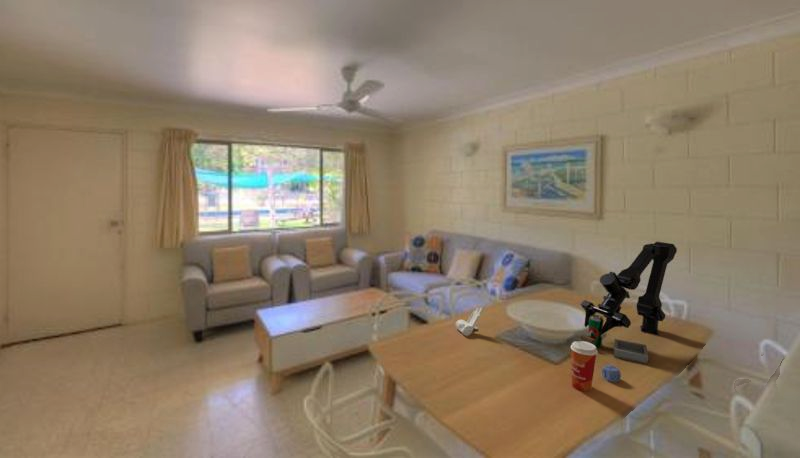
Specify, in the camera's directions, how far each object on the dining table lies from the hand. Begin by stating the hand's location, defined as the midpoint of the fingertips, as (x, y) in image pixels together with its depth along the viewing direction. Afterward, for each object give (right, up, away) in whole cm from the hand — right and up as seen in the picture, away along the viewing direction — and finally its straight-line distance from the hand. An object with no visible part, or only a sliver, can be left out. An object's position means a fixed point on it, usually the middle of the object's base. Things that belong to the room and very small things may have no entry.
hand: (593, 330), depth 142 cm
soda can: (+1, -7, +1) cm, 7 cm away
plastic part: (-47, -5, +15) cm, 49 cm away
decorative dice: (-7, -10, -23) cm, 26 cm away
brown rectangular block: (-2, -7, 0) cm, 7 cm away
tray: (+11, -8, -6) cm, 14 cm away
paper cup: (-19, -11, -27) cm, 35 cm away
